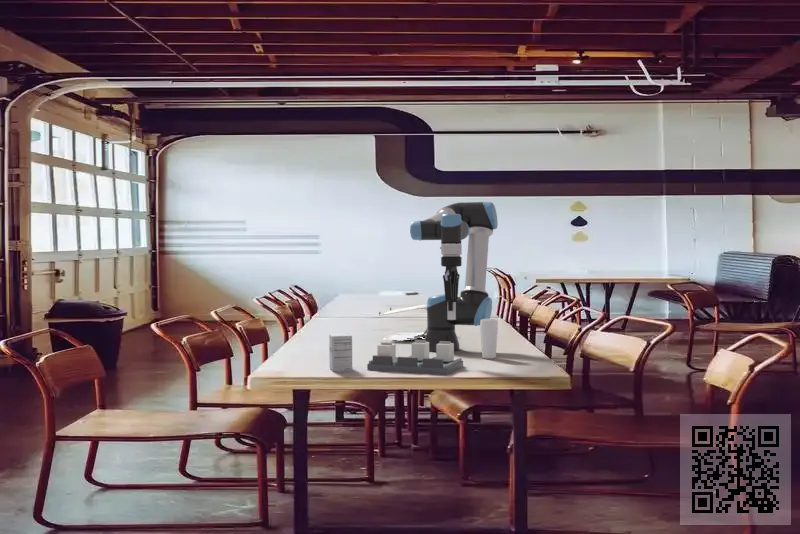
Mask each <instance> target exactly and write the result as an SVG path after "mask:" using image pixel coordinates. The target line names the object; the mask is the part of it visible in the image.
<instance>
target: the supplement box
mask: <svg viewBox="0 0 800 534" xmlns="http://www.w3.org/2000/svg"><path fill="white" fill-rule="evenodd" d="M328 337H329V341H328V342H329V344H328V345H329V347H328V348H329V353H328V354H329V369H330V370H331V372H333V373H334V372H338V373H339V372H351V371H353V335H351V334H350V333H349V332H347V333H346V332H345V333H344V332H343V333H340V332H339V333H329V334H328Z"/></svg>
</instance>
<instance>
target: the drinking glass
mask: <svg viewBox="0 0 800 534" xmlns="http://www.w3.org/2000/svg"><path fill="white" fill-rule="evenodd" d="M498 323H499V322H498V319H497V318H490V319H481V320H480V325H479V331H480V342H481V343H480V345H481V357H482V359H484V360H494V359H496V358H497V344H498V333H499V331H498V329H499V327H498V326H499V325H498Z"/></svg>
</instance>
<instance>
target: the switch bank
mask: <svg viewBox="0 0 800 534" xmlns="http://www.w3.org/2000/svg"><path fill="white" fill-rule="evenodd" d="M366 365H367V366H366V367H367V369H366V370H368V371H369V370H370V371H383V372H400V373H401V372H402V373H413V374H414V373H415V374H416V373H417V374H428V375H429V374H430V375H447V376H448V375H449V374H451V373H453V372H455V371H457V370H458V369H460V368H463V367H464V360H462V358H461V357H459V358H457V359H454V360H452V361H450V362H445V361H443V359H436V356H434V357H429V358H423V360H417V358H414V357H412V355H409V356H396V361H394V362H392V356H378V355H372V359H370V360H369V361H368V363H367V364H366Z"/></svg>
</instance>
